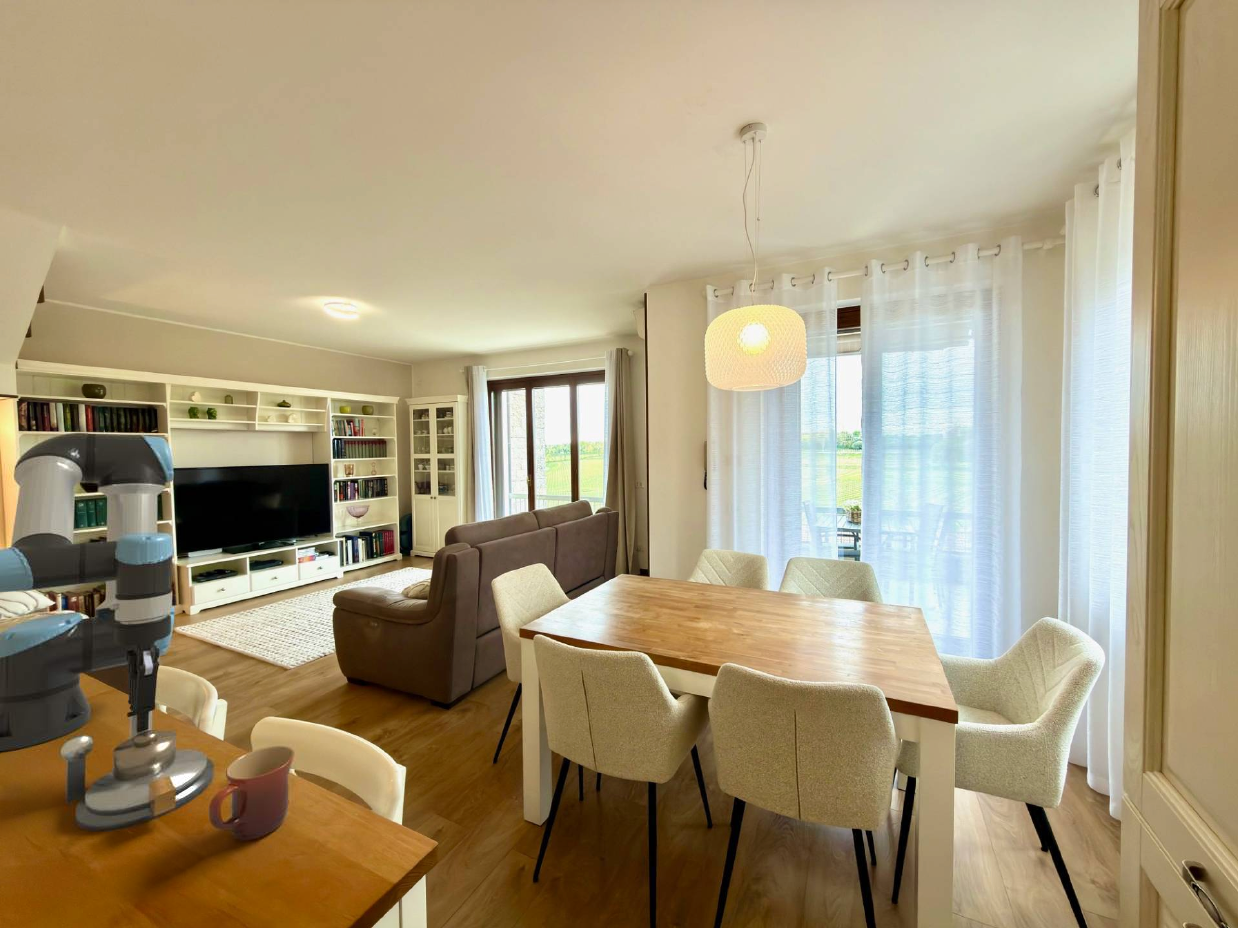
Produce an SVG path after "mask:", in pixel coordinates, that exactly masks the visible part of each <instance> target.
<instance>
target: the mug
mask: <svg viewBox="0 0 1238 928" xmlns="http://www.w3.org/2000/svg"><path fill="white" fill-rule="evenodd" d="M295 755H296V754H295V750H294V749H293V748H291V746H286V745H273V746H266V747H261V748H258V749H255V750H252V751H250V752H247V753H246V754H245V753H244V754H243V755H242V756H240V757H238V758H236V759H235V760H234V761H232V762H231V763H230V764H229V765H228V767H227V768H226V769H225V777H226V780H227V781H228V784H226V785H225V786H224V787H223V788H221V789H220V790H219V791H218V792H216V794H214V796H213V797H212V799H211V800H210V803H209V807H208V816H209V817H208V818H209V821H210V825H212V826H213V827H214V828H215V829H217V830H220V831H222V830H230V831H231V834H232V835H231V836H232V837H234V839H237V840H242V841H253V840H256V839H259V838H262V837H265V836H266V835H268V834H270V833H272V832H273V831H274V830H276V829H277V828H278V827H279V826H280V825H281V824H282V823H283V822H284V821H285V820H286V817H287V813H288V810H289V805H290V802H289V801H290V800H289V799H290V796H289V795H290V794H289V791H290V790H289V789H290V786H289V777H290V776H289V775H290V771H291V770H290V769H291V767H292V763H293V761H294V758H295ZM229 795H231V797H230V798H231V801H230V817H228V818H227V819H226V820H225V821H224V820H223V818H222V811H221V810H222V803H223V801H224V799H226V798H227V797H228V796H229Z"/></svg>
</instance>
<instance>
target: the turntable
mask: <svg viewBox="0 0 1238 928" xmlns="http://www.w3.org/2000/svg"><path fill="white" fill-rule="evenodd" d="M207 758H208V757H207V755H206V753H205V752H203V751H200V750H198V749H197V750H196V749H189V748H188V749H176V758H175V760H174V761H173V762H172V763H171V764H169V765H168V766H167V767H165V768H163V769H161V770H159V771H157V772H155V773H152V774H149V775H146V776H143V777H139V778H135V779H128V780H119V779H115V778H114V777H113V770H111V771H110V772H107V773H105V774H104V775H103V776H101V777H100V778H98V779H96V780H95V782H93V783H92V784H91V785H90V786H89V787H88V789H87V790H86V791H85V808H86V810H87V811H88V812H90V813H93V814H97V815H112V814H120V813H126V812H130V811H135V810H138V809H142V808H145V807H148V806H150V807H151V809H152V811H153V814H154V816H156V815H158V814H161V813H163V812H166V811H168V810H171V809H173V808H175V797H176V795H177V794H178V793H180V792H182V791H184V790H185V789H187V788H189V787H190V786H191V785H193V784H194V783H195V782H197V781H198V780H199V779H200V778H201V777H202V776H203V774H204V773H205V771H206V768H207Z"/></svg>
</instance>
